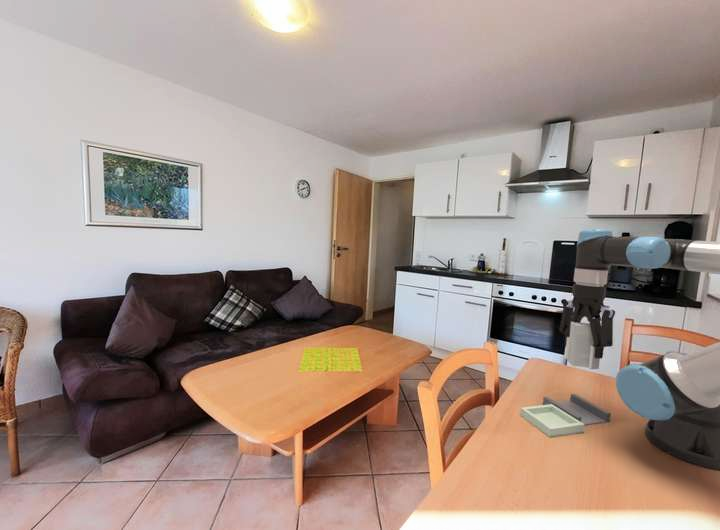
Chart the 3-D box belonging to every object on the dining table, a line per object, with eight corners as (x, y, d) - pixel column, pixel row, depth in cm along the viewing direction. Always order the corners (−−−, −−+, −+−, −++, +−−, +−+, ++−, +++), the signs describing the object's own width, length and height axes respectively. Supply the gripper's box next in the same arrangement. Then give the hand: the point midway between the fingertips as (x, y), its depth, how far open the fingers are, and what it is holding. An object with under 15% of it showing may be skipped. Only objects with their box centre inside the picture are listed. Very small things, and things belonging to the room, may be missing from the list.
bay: (609, 421, 86) (610, 413, 86) (576, 426, 83) (577, 417, 83) (573, 401, 97) (574, 393, 97) (542, 404, 94) (543, 396, 94)
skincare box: (590, 363, 90) (594, 323, 89) (596, 369, 86) (601, 327, 85) (566, 360, 92) (570, 321, 91) (570, 365, 88) (575, 324, 87)
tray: (583, 432, 81) (584, 424, 81) (549, 437, 78) (550, 429, 78) (551, 411, 90) (551, 404, 90) (520, 415, 88) (520, 407, 87)
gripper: (638, 290, 78) (627, 377, 80) (568, 279, 97) (561, 350, 99) (616, 290, 76) (605, 379, 78) (549, 279, 95) (542, 351, 97)
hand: (581, 363), depth 89 cm, fingers closed on skincare box, 7 cm apart
